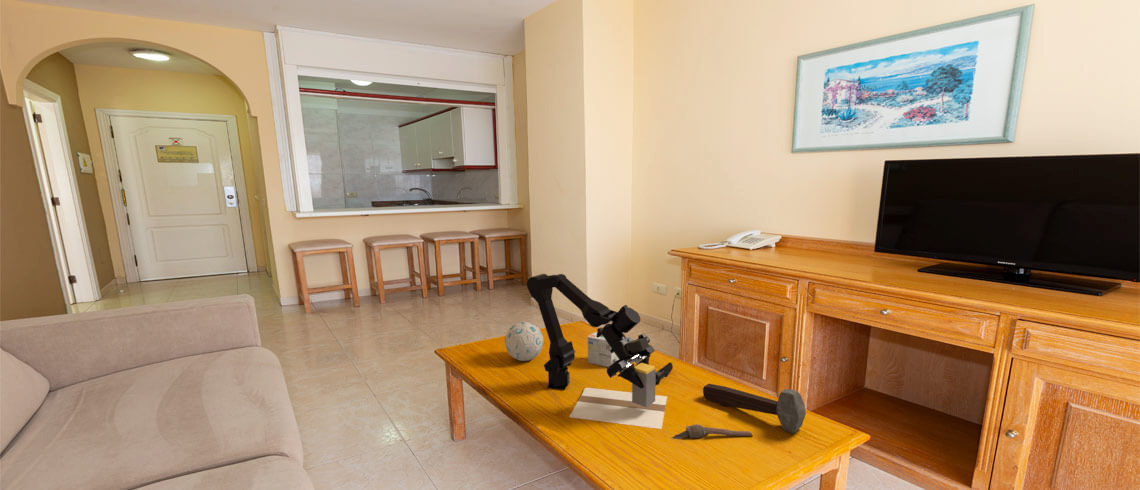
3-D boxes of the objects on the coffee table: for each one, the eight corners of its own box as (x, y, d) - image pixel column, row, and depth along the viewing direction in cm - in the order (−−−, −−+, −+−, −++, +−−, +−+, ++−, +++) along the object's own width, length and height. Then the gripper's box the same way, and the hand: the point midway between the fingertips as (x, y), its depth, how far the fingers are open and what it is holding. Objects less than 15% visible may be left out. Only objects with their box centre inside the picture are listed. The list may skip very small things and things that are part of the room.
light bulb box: (619, 362, 179) (619, 335, 177) (611, 368, 173) (611, 341, 172) (595, 357, 184) (595, 331, 183) (587, 363, 179) (586, 336, 177)
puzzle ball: (523, 349, 194) (522, 315, 192) (551, 357, 185) (550, 321, 183) (497, 361, 182) (496, 324, 180) (526, 370, 173) (525, 331, 171)
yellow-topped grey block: (632, 402, 139) (632, 367, 138) (641, 396, 143) (641, 362, 142) (646, 407, 136) (646, 371, 135) (655, 401, 140) (655, 366, 138)
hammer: (703, 411, 148) (800, 436, 125) (699, 376, 147) (796, 396, 125) (711, 406, 151) (807, 430, 129) (707, 372, 151) (803, 390, 128)
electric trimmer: (675, 371, 171) (675, 362, 171) (658, 386, 158) (658, 377, 158) (666, 368, 173) (666, 360, 173) (648, 383, 161) (648, 375, 160)
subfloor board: (569, 419, 137) (569, 416, 137) (585, 389, 156) (585, 387, 156) (661, 431, 130) (661, 428, 130) (667, 398, 149) (667, 396, 149)
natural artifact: (670, 442, 127) (667, 427, 129) (751, 436, 127) (748, 421, 129) (672, 441, 123) (670, 425, 125) (756, 435, 124) (752, 419, 126)
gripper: (614, 335, 132) (647, 382, 126) (649, 319, 146) (680, 361, 140) (593, 355, 138) (623, 401, 133) (628, 338, 152) (657, 379, 147)
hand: (647, 384), depth 138 cm, fingers closed on yellow-topped grey block, 5 cm apart
